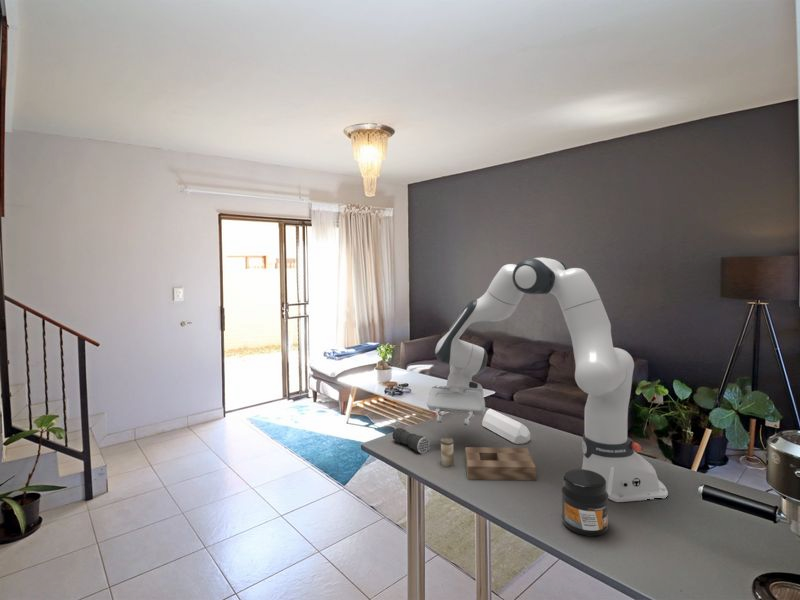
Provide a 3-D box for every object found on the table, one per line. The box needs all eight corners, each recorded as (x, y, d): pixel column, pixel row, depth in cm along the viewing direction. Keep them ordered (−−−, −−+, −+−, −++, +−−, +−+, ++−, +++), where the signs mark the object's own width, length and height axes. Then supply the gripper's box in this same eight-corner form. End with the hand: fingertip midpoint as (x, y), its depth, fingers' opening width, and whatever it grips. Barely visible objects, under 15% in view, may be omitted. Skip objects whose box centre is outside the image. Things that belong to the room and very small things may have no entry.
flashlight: (391, 442, 160) (390, 428, 160) (402, 438, 164) (401, 424, 163) (418, 455, 148) (417, 440, 148) (430, 451, 152) (429, 435, 151)
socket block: (527, 459, 142) (526, 447, 142) (536, 480, 128) (535, 467, 128) (465, 458, 144) (465, 447, 144) (467, 479, 130) (467, 466, 130)
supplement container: (591, 544, 98) (591, 493, 98) (552, 522, 107) (552, 475, 106) (617, 527, 104) (617, 479, 103) (578, 508, 113) (578, 463, 112)
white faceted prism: (475, 416, 174) (513, 437, 152) (487, 405, 176) (527, 424, 154) (483, 430, 176) (522, 452, 154) (495, 419, 178) (535, 439, 156)
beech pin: (453, 461, 143) (453, 437, 142) (454, 467, 139) (453, 442, 138) (441, 461, 143) (440, 437, 143) (441, 466, 139) (440, 442, 138)
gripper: (429, 381, 157) (421, 416, 149) (485, 384, 150) (480, 422, 142) (432, 389, 162) (425, 424, 153) (487, 393, 154) (483, 430, 146)
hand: (452, 423), depth 147 cm, fingers open, 8 cm apart
